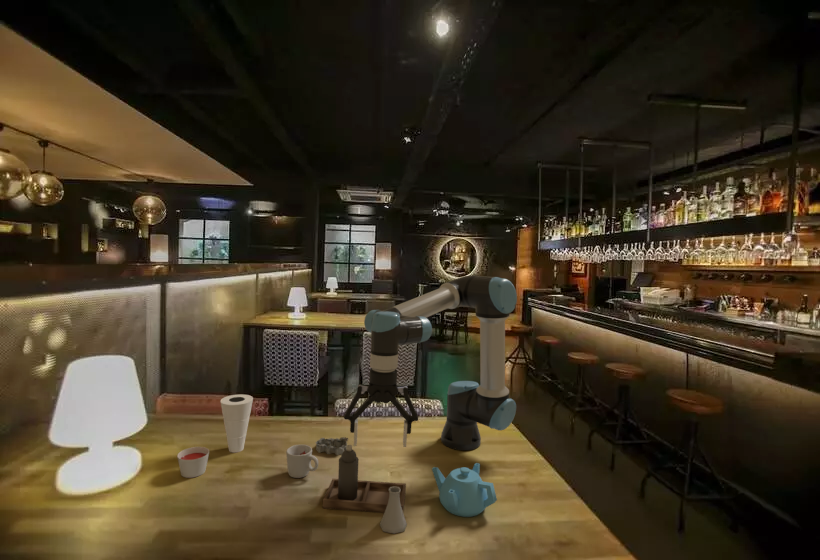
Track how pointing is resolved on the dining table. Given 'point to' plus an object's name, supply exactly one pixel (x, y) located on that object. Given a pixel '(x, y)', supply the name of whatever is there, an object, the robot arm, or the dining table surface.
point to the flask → (393, 513)
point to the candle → (193, 461)
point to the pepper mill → (348, 475)
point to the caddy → (364, 496)
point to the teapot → (464, 491)
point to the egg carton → (331, 445)
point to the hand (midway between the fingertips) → (380, 444)
